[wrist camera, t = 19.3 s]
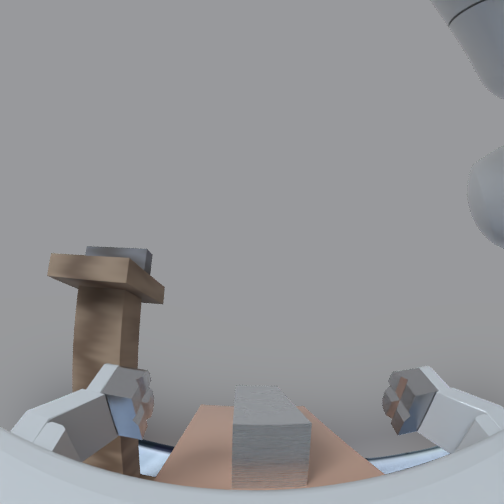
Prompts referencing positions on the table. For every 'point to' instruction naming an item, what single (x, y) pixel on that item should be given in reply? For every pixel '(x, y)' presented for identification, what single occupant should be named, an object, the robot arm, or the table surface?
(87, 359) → the walnut shelf stand
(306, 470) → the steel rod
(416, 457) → the table surface
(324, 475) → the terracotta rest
